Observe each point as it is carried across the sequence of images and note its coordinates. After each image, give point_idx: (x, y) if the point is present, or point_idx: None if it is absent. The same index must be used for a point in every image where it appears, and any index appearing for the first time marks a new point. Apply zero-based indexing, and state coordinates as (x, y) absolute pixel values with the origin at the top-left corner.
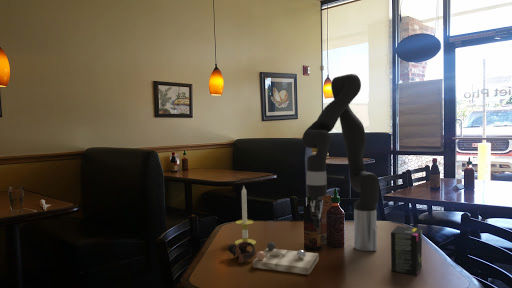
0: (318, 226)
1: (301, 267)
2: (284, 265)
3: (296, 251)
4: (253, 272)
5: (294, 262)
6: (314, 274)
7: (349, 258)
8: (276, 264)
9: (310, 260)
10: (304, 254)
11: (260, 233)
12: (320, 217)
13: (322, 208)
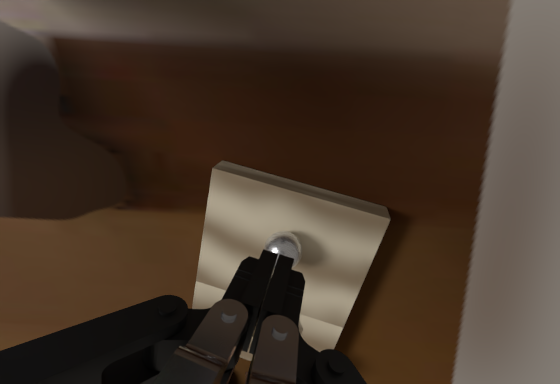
0: (290, 270)
1: (379, 244)
2: (354, 298)
3: (203, 252)
4: (362, 364)
5: (329, 266)
6: (385, 186)
7: (183, 14)
8: (344, 321)
9: (302, 207)
10: (294, 241)
11: (17, 332)
12: (231, 302)
13: (66, 332)
